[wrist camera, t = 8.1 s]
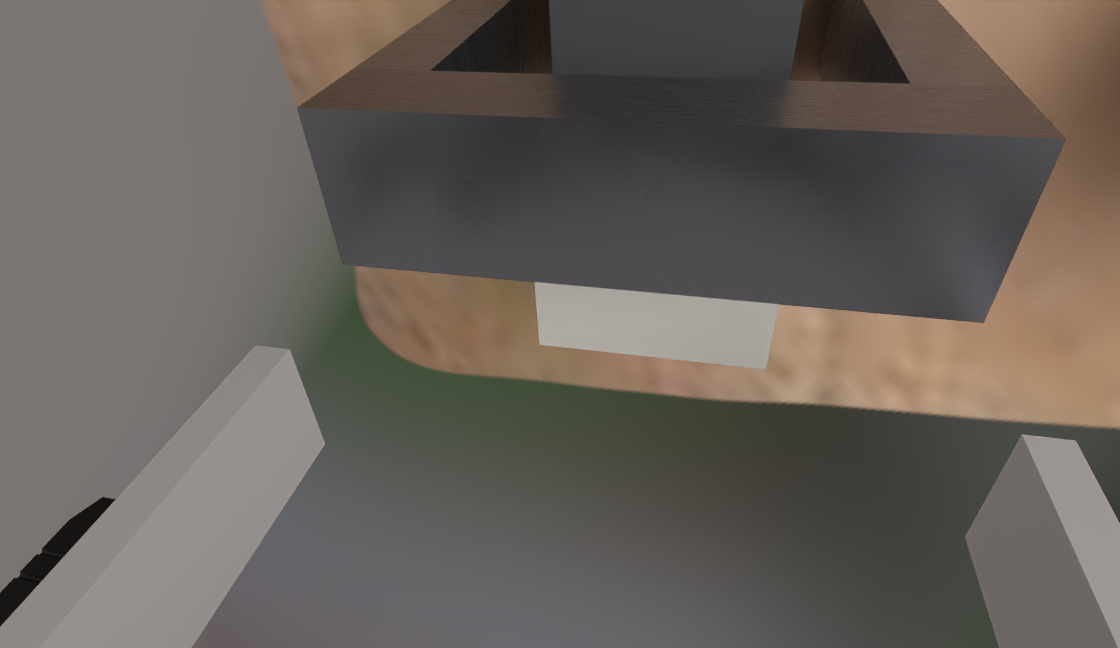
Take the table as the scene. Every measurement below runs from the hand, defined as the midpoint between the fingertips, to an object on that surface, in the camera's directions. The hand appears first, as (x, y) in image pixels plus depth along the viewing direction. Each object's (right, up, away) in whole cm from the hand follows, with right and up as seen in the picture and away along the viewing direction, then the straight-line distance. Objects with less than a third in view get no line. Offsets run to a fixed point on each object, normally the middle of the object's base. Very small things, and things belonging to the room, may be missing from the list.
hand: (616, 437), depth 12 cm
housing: (+3, +11, +7) cm, 14 cm away
